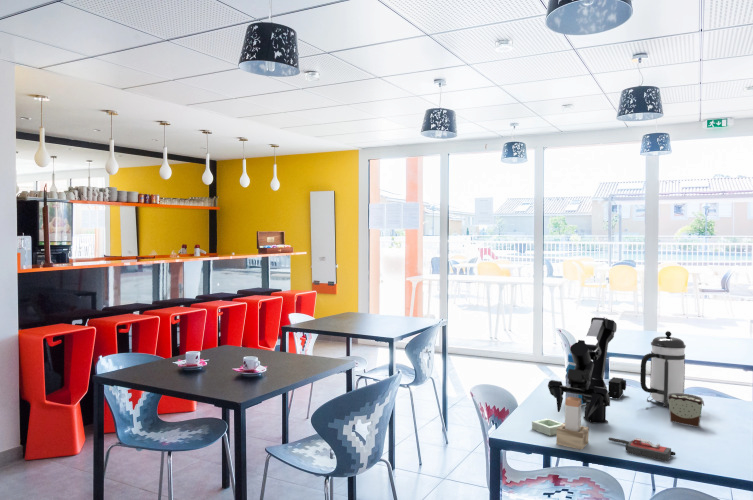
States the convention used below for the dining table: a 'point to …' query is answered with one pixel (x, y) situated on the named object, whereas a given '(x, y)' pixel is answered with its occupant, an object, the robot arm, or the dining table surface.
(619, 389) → the digital camera
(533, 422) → the tray
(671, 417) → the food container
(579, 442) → the box
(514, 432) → the dining table surface
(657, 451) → the walkie-talkie
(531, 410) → the dining table surface
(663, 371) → the coffee press
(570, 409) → the plug
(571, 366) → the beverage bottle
